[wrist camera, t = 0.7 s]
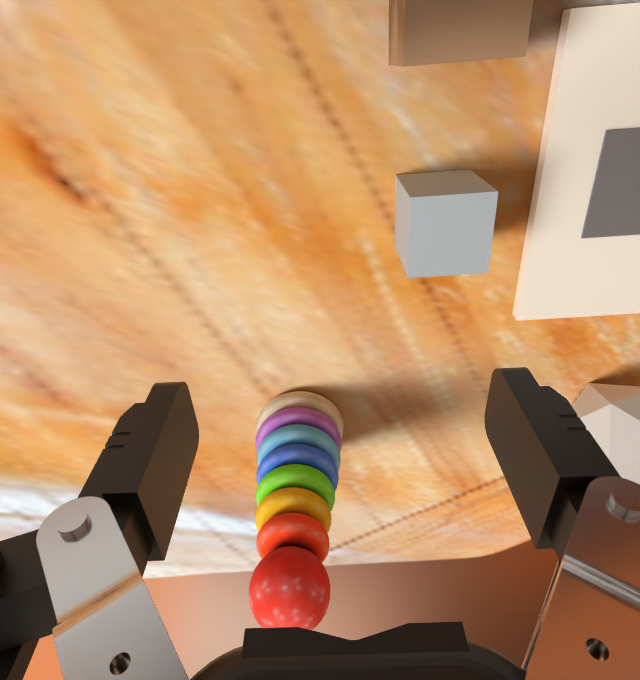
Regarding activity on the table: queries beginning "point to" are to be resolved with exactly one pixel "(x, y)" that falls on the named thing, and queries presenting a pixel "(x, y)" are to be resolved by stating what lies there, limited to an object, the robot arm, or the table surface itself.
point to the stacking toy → (294, 508)
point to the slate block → (444, 223)
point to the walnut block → (457, 30)
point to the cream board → (587, 174)
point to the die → (614, 424)
